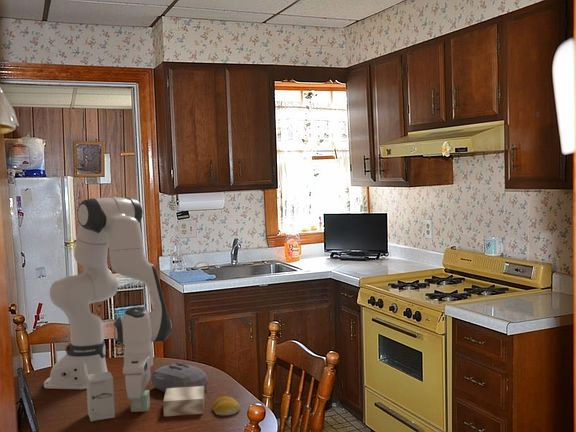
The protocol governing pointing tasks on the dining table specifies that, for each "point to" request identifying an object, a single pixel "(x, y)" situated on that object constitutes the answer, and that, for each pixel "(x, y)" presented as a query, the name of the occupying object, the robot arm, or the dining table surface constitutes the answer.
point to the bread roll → (225, 406)
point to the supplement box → (100, 396)
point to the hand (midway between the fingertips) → (140, 403)
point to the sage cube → (145, 402)
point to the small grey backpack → (178, 377)
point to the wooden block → (184, 401)
